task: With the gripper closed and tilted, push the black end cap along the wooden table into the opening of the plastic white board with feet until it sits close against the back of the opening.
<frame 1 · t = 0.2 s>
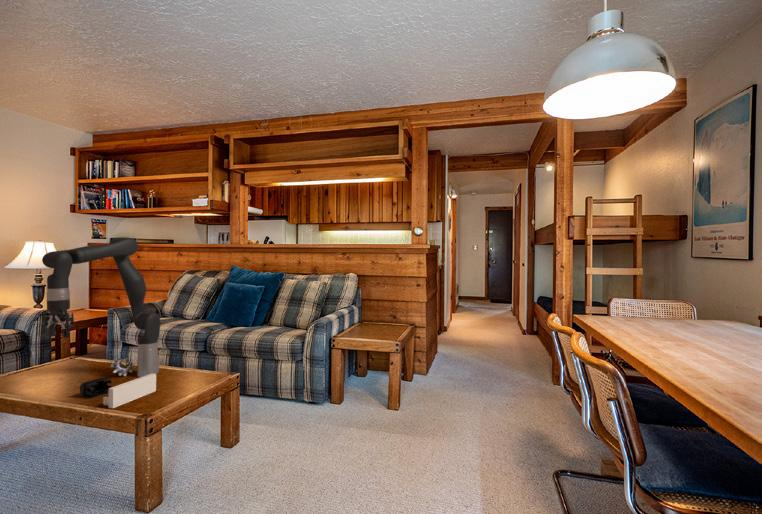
hand: (59, 337, 163), 29 cm above the table, tool pointing down, fingers open, 8 cm apart
end cap: (96, 394, 176), on the table
white board with feet: (129, 389, 171), on the table
passion flower: (121, 375, 205), on the table
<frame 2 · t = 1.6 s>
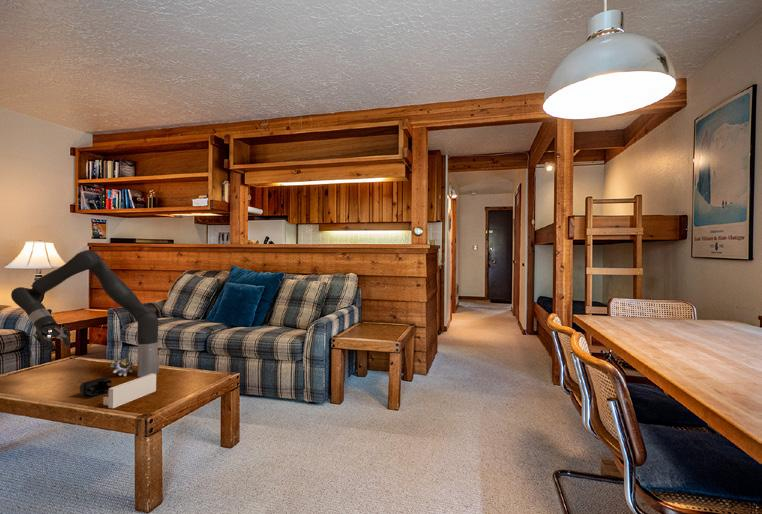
hand: (61, 346, 181), 20 cm above the table, tool tilted 45°, fingers open, 6 cm apart
nothing on the table moved.
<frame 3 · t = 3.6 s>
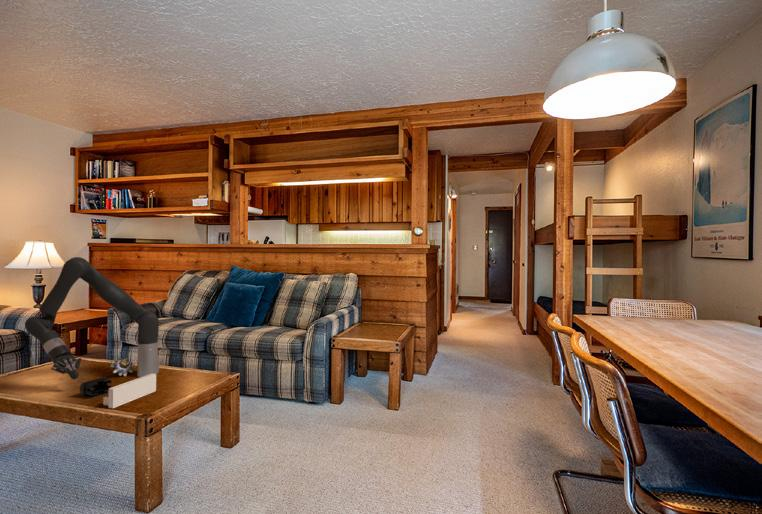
hand: (76, 377, 179), 6 cm above the table, tool tilted 45°, fingers closed
nothing on the table moved.
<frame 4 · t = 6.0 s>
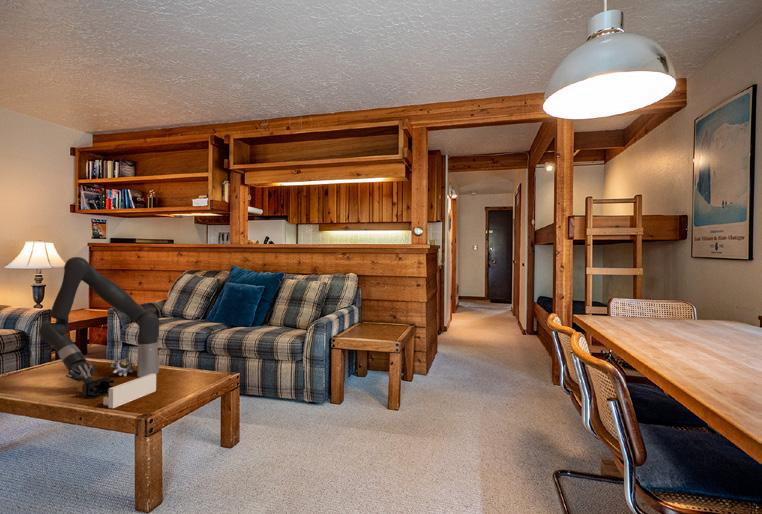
hand: (91, 385, 177), 4 cm above the table, tool tilted 45°, fingers closed
end cap: (98, 395, 176), on the table
everything else where it was.
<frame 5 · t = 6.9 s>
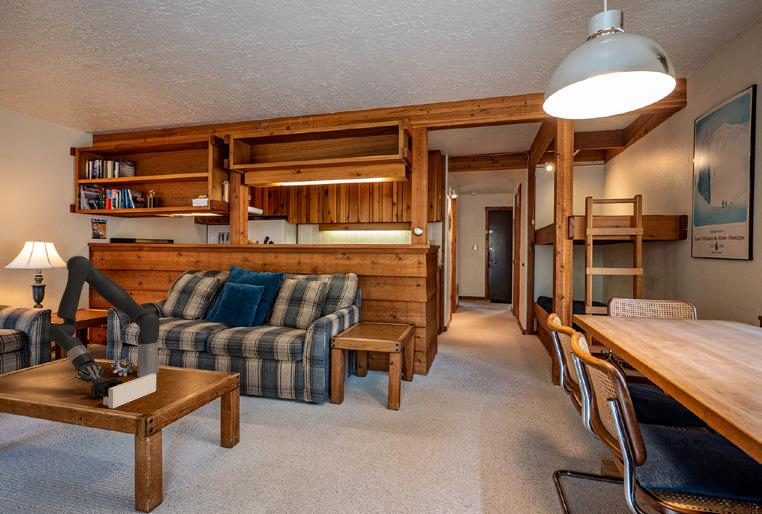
hand: (100, 386, 175), 4 cm above the table, tool tilted 45°, fingers closed
end cap: (106, 396, 174), on the table, touching gripper
everything else where it was.
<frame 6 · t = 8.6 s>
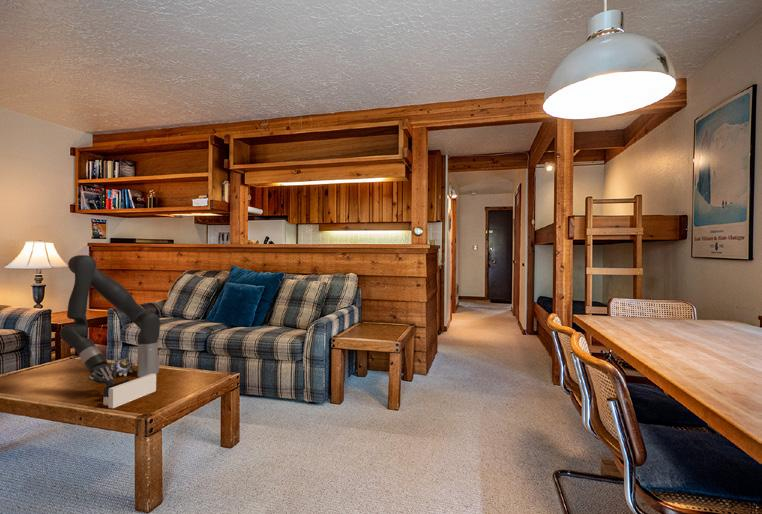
hand: (113, 388, 173), 4 cm above the table, tool tilted 45°, fingers closed
end cap: (119, 398, 172), on the table, touching gripper
everything else where it was.
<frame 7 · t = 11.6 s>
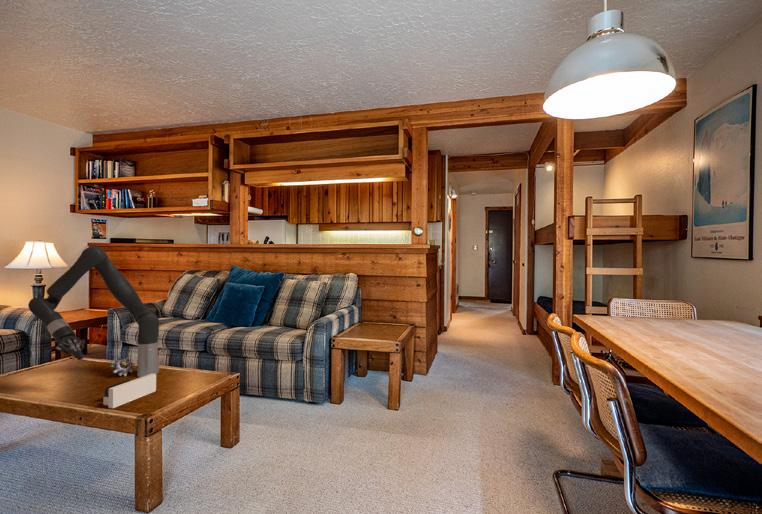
hand: (81, 358, 178), 16 cm above the table, tool tilted 45°, fingers closed
end cap: (120, 398, 172), on the table
everything else where it was.
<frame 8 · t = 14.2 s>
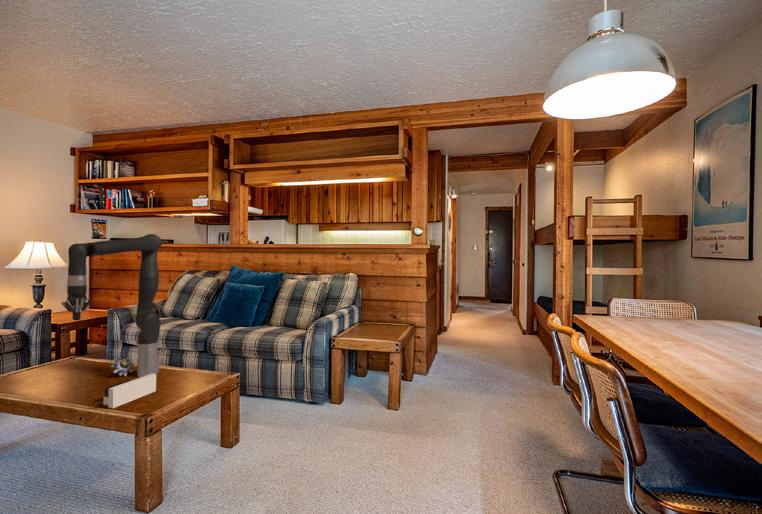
hand: (76, 320, 187), 32 cm above the table, tool pointing down, fingers closed
nothing on the table moved.
at the end: end cap inside the target area on the white board with feet (0.8 cm from its centre), point 0.0 cm above the white board with feet's base; end cap tilted 0°; end cap moved 15.0 cm from its start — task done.
